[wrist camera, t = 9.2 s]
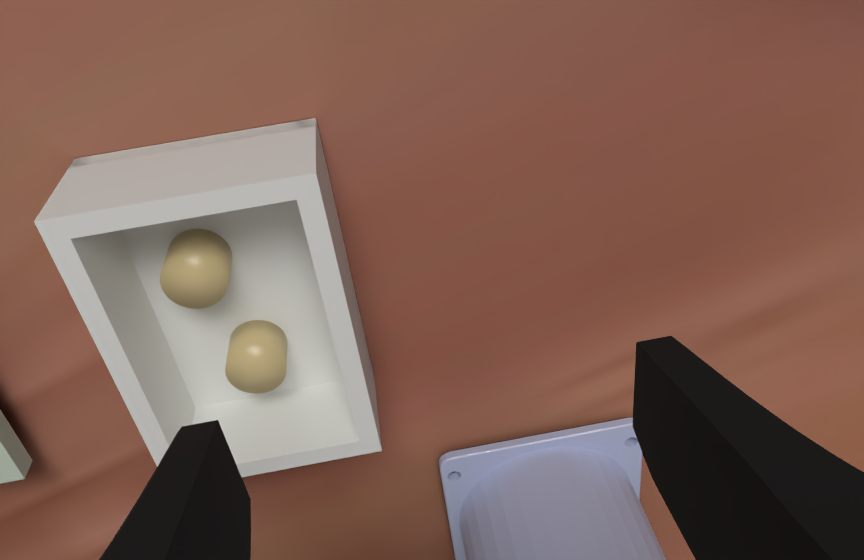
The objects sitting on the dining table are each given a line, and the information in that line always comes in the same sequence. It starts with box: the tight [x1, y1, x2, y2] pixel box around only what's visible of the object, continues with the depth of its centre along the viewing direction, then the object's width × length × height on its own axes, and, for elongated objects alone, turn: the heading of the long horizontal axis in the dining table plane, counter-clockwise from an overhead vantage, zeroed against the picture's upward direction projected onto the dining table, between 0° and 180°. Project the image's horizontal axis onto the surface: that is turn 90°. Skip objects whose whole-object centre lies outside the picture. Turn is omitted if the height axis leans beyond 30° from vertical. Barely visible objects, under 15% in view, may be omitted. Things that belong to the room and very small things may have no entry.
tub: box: [34, 118, 382, 477], centre depth 21 cm, size 10×7×4 cm
